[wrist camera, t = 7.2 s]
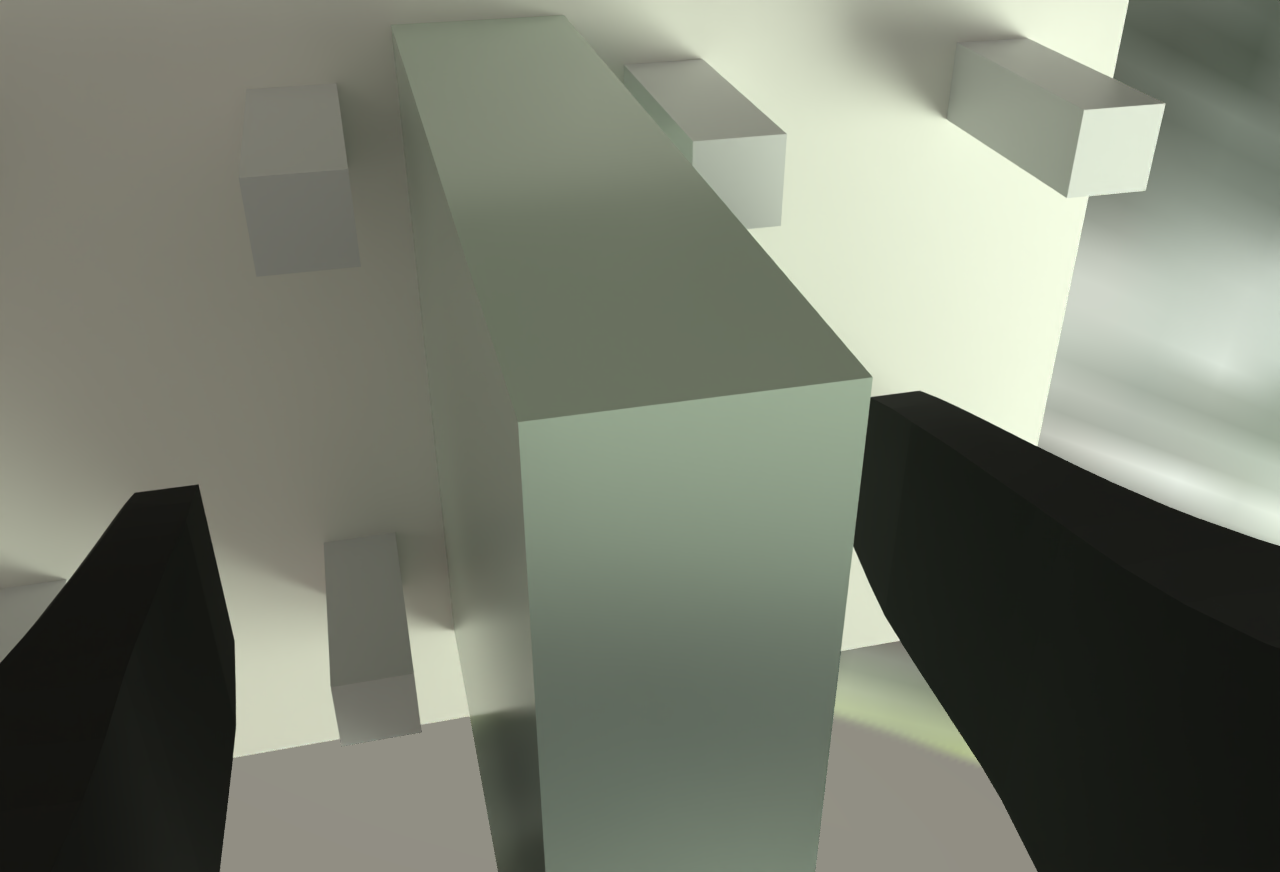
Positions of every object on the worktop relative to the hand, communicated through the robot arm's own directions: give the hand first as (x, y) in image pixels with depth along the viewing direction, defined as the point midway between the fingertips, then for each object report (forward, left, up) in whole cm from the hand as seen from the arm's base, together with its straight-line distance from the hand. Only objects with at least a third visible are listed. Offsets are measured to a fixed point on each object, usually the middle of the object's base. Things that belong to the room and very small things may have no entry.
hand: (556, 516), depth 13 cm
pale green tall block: (0, 0, -4) cm, 4 cm away
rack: (0, 0, -5) cm, 5 cm away
